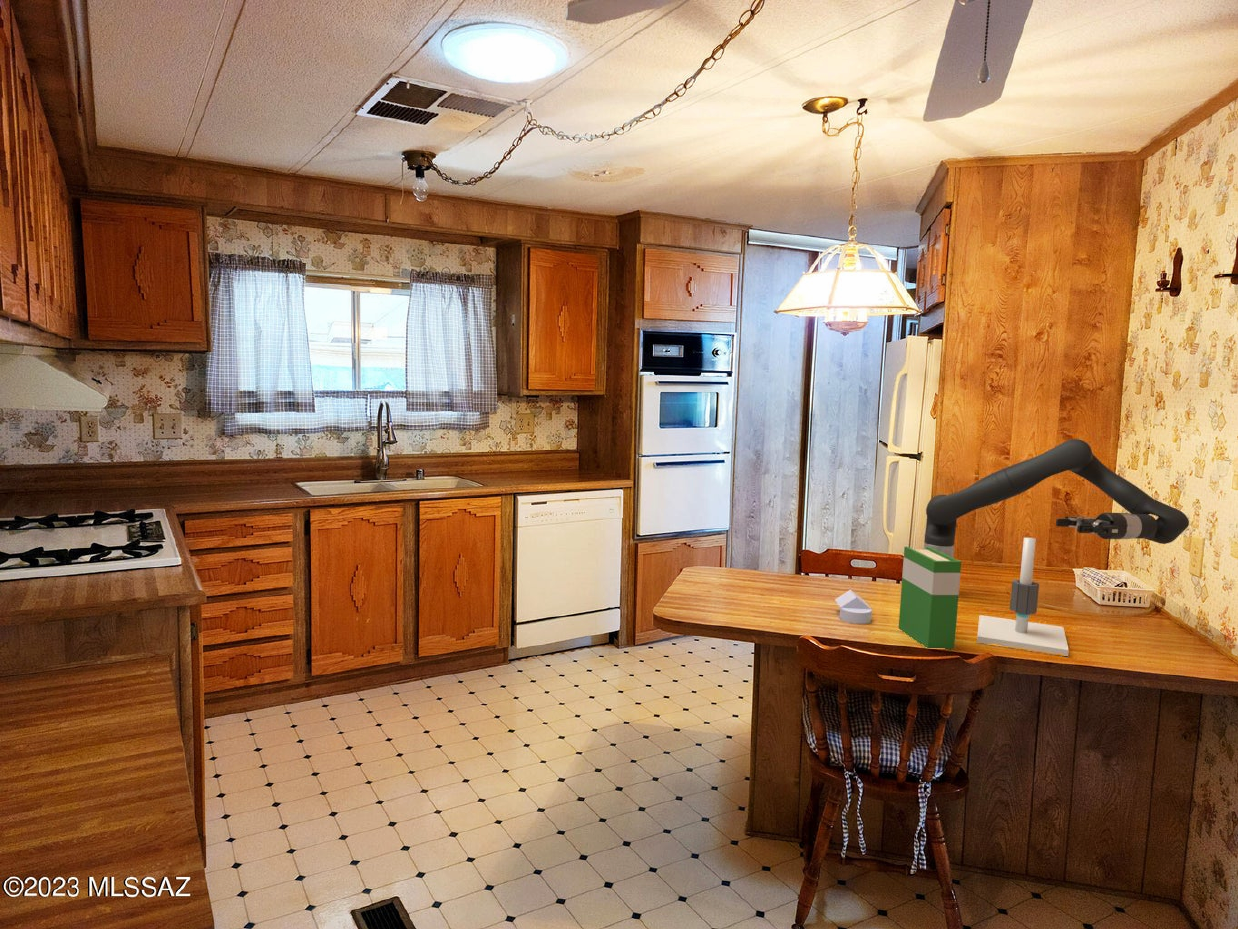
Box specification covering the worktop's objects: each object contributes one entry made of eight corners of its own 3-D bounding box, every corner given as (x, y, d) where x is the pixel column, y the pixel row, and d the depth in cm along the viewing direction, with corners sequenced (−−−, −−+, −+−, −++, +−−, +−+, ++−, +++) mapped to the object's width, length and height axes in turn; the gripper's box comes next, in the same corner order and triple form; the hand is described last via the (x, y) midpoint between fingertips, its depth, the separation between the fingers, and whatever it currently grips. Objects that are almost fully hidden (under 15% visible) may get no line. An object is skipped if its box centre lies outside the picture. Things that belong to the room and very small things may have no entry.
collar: (1009, 611, 226) (1012, 583, 225) (1009, 605, 232) (1012, 578, 231) (1037, 615, 223) (1039, 587, 222) (1036, 609, 229) (1038, 581, 228)
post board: (976, 643, 223) (985, 541, 220) (978, 621, 243) (986, 527, 239) (1067, 657, 214) (1078, 551, 210) (1062, 633, 234) (1072, 536, 230)
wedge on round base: (834, 610, 250) (842, 623, 237) (835, 588, 250) (844, 600, 237) (863, 611, 250) (874, 624, 237) (865, 590, 249) (875, 602, 236)
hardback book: (898, 628, 234) (904, 546, 231) (923, 628, 235) (929, 546, 232) (927, 649, 217) (934, 561, 214) (954, 649, 218) (961, 561, 215)
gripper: (1101, 508, 238) (1051, 507, 235) (1139, 518, 224) (1087, 517, 221) (1098, 533, 239) (1048, 533, 236) (1136, 544, 225) (1084, 544, 222)
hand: (1067, 525), depth 228 cm, fingers open, 8 cm apart
